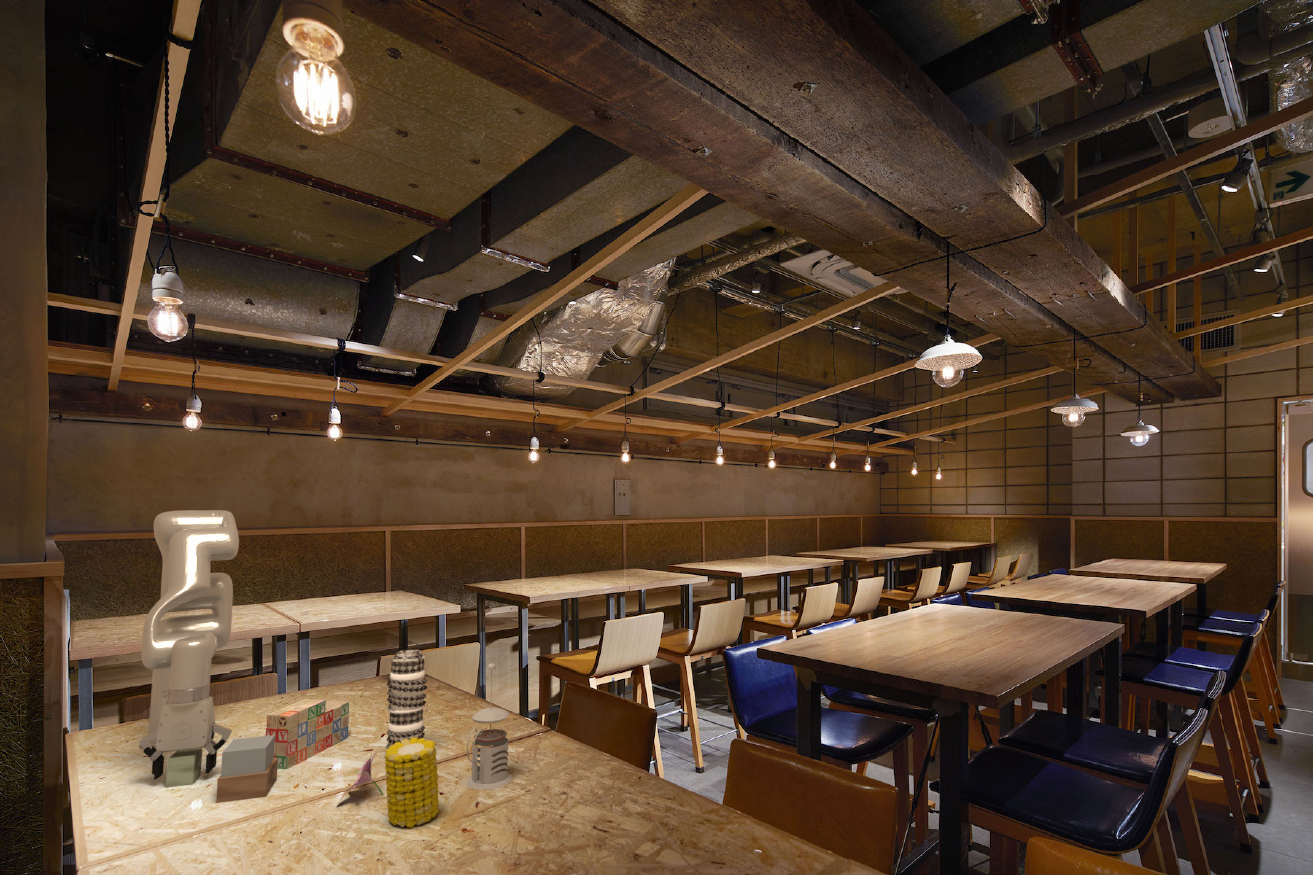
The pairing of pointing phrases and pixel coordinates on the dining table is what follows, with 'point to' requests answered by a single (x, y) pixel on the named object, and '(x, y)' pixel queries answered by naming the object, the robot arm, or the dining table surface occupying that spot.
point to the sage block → (184, 767)
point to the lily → (364, 775)
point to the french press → (489, 750)
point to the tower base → (247, 785)
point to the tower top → (247, 756)
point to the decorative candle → (406, 696)
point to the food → (411, 782)
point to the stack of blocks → (307, 729)
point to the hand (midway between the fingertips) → (184, 774)
